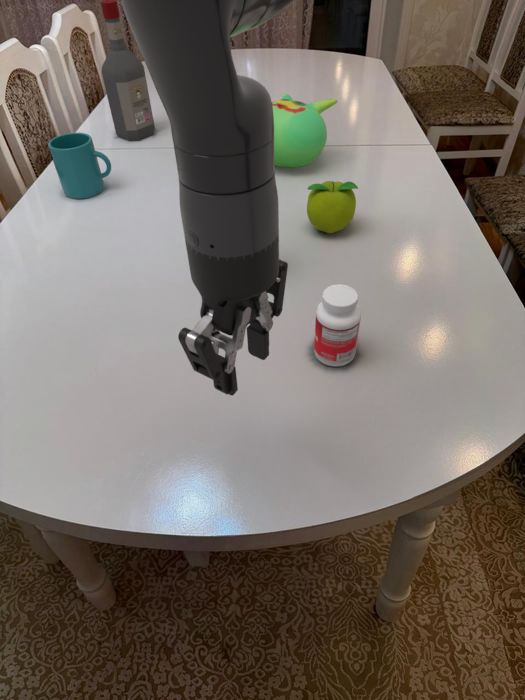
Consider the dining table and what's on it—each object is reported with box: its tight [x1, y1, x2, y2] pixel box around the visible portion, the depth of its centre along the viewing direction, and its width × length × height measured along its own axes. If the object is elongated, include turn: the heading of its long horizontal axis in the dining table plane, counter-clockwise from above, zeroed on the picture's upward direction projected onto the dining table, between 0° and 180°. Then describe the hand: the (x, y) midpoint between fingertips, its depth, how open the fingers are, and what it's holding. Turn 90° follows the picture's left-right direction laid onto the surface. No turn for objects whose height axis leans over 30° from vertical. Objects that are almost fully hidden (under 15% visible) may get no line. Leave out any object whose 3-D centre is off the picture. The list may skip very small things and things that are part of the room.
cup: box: [47, 132, 112, 200], centre depth 109 cm, size 9×12×11 cm
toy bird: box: [271, 93, 339, 168], centre depth 115 cm, size 18×17×15 cm
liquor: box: [100, 0, 156, 142], centre depth 125 cm, size 9×9×30 cm
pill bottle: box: [313, 283, 362, 367], centre depth 70 cm, size 6×6×11 cm
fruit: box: [306, 180, 359, 234], centre depth 95 cm, size 9×9×10 cm
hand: (243, 371), depth 51 cm, fingers open, 5 cm apart
